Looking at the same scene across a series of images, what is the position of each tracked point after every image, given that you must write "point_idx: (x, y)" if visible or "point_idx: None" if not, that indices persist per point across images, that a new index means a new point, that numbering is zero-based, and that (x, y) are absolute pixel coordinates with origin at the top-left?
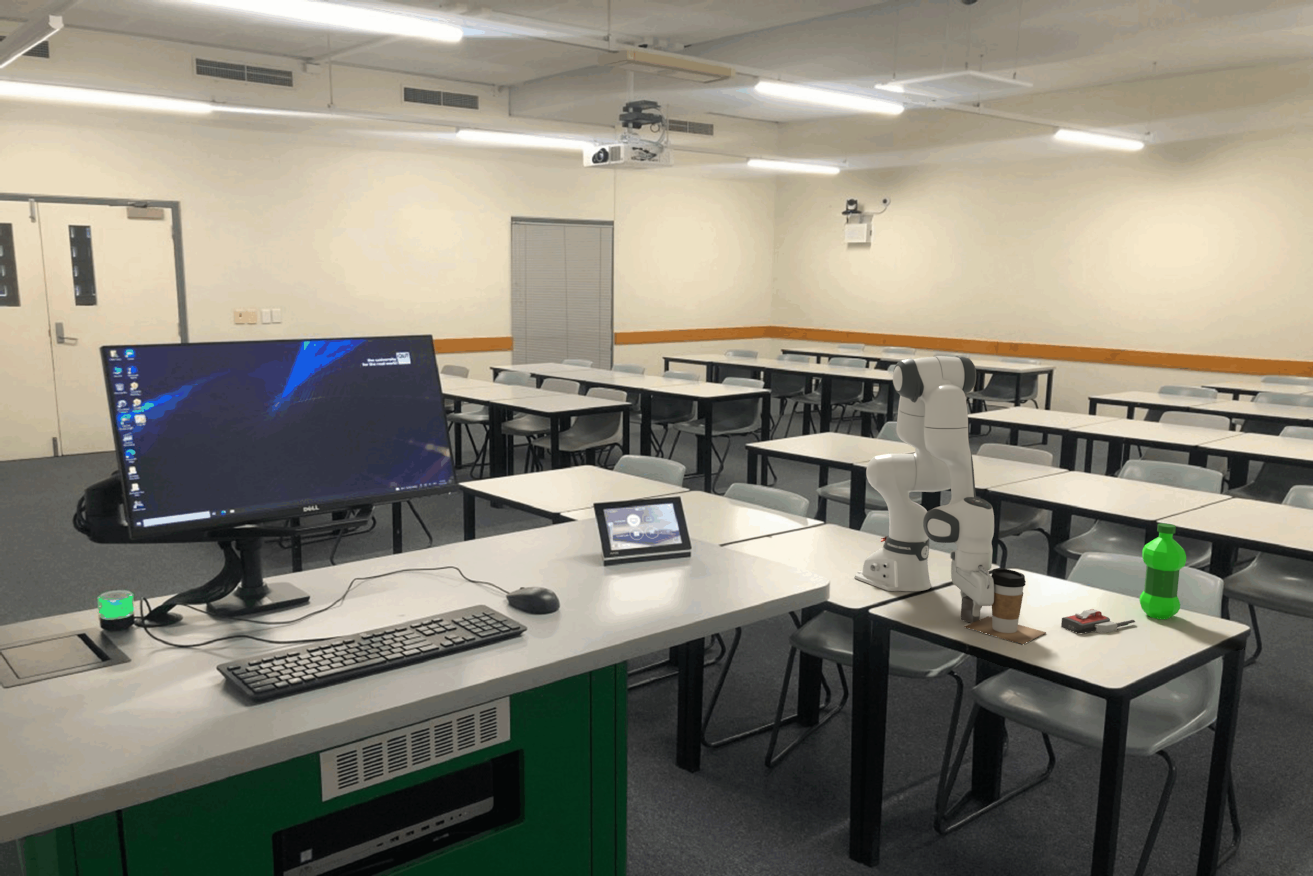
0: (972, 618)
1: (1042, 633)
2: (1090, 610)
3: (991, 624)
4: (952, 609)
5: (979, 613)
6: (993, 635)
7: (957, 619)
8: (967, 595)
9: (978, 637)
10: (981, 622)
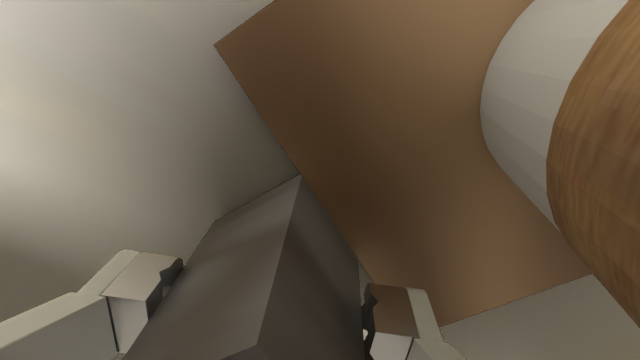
0: (356, 283)
1: None
2: None
3: (440, 142)
4: (33, 227)
5: (430, 310)
6: None
7: None
8: (24, 357)
9: (592, 331)
10: (372, 198)
